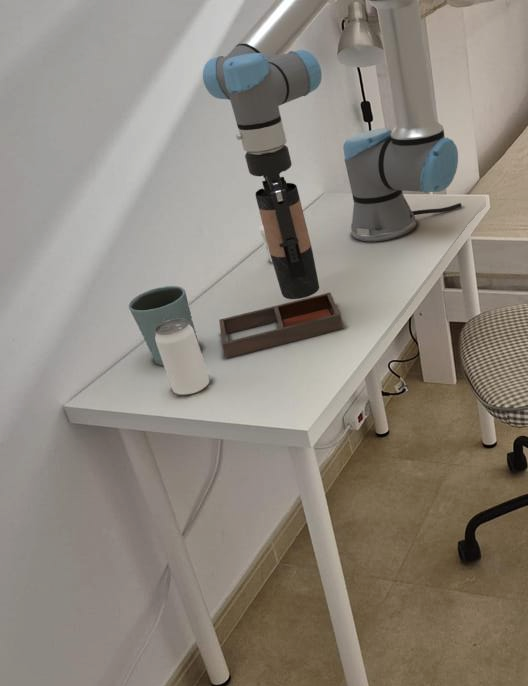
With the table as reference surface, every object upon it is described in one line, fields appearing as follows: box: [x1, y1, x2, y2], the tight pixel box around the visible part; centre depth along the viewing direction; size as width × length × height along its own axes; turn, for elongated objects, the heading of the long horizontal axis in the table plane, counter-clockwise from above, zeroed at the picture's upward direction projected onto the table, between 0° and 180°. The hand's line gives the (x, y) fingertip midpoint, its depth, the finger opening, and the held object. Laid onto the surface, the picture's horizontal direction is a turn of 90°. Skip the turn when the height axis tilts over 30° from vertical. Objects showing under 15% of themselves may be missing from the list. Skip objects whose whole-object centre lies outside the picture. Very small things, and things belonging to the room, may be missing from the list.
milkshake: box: [258, 223, 273, 264], centre depth 197 cm, size 5×5×10 cm
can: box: [155, 318, 210, 396], centre depth 149 cm, size 6×6×12 cm
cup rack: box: [218, 291, 344, 359], centre depth 166 cm, size 11×22×3 cm, turn 107°
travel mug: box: [255, 182, 320, 300], centre depth 160 cm, size 8×8×20 cm
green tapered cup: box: [128, 285, 201, 367], centre depth 161 cm, size 10×10×12 cm
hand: (295, 268), depth 162 cm, fingers closed on travel mug, 8 cm apart
